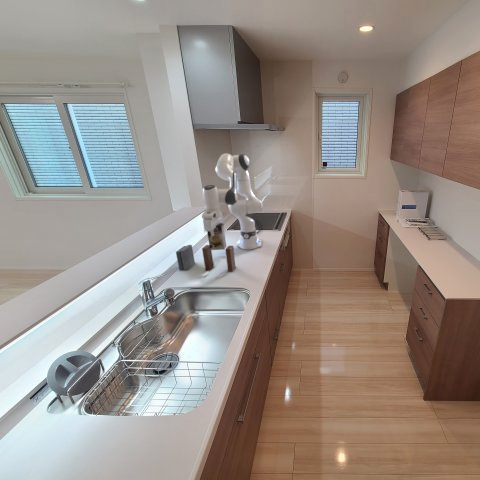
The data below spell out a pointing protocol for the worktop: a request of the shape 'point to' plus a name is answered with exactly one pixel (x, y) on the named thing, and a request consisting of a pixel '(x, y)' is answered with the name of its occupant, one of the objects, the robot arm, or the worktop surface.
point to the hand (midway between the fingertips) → (215, 233)
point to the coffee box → (217, 238)
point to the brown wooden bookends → (209, 259)
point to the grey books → (185, 257)
